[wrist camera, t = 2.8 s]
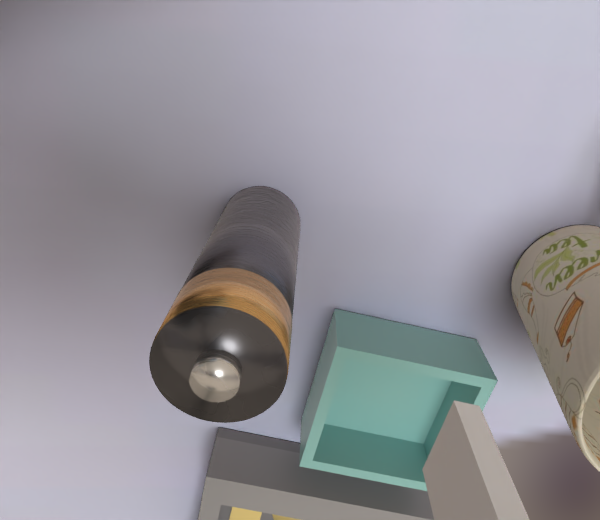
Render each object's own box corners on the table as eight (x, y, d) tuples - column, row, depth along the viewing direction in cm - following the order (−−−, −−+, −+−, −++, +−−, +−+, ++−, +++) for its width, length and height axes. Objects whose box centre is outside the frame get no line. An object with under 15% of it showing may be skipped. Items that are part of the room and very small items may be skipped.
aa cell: (229, 177, 24) (149, 306, 13) (309, 196, 24) (301, 338, 13) (216, 250, 26) (135, 422, 14) (291, 267, 26) (270, 449, 15)
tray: (334, 308, 27) (337, 346, 24) (476, 339, 28) (497, 380, 24) (301, 419, 30) (299, 466, 27) (427, 445, 31) (440, 493, 28)
